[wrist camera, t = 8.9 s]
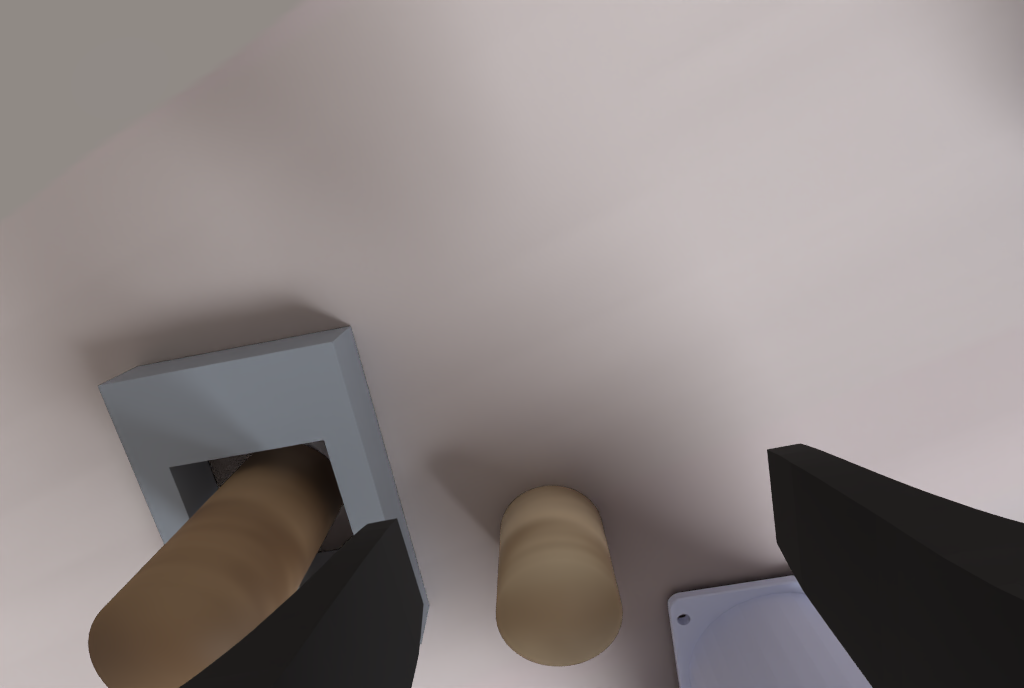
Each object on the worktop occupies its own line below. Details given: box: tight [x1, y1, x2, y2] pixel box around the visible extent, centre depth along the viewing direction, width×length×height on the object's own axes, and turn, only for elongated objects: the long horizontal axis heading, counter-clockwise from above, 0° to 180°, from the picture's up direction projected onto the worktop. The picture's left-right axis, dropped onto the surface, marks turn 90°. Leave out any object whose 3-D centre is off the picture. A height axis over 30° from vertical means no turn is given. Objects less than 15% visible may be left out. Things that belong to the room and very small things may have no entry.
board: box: [98, 326, 429, 644], centre depth 21 cm, size 12×8×2 cm, turn 11°
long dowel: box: [88, 444, 343, 688], centre depth 18 cm, size 4×4×8 cm
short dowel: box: [496, 486, 623, 666], centre depth 20 cm, size 4×4×4 cm
